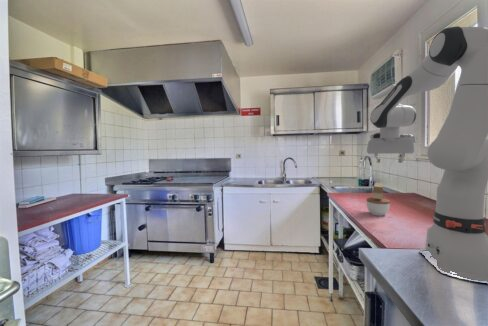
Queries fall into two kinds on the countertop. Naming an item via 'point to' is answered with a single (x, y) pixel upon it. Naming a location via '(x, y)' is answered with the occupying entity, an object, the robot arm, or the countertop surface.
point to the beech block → (378, 191)
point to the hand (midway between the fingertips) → (389, 162)
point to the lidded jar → (378, 206)
